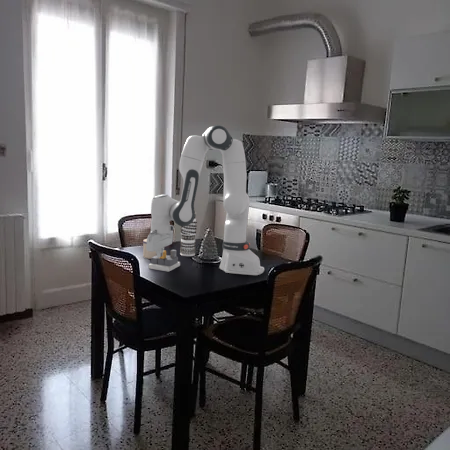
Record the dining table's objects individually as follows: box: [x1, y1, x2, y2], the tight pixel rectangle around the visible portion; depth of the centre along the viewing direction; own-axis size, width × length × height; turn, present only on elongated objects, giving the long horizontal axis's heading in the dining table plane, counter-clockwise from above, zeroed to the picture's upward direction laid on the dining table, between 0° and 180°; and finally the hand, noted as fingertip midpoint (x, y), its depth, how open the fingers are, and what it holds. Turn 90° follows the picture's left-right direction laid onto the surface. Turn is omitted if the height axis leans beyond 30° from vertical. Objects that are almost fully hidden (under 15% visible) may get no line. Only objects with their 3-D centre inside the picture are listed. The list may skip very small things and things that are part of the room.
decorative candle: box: [179, 212, 198, 257], centre depth 243 cm, size 9×9×25 cm
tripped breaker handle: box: [160, 249, 167, 259], centre depth 215 cm, size 2×2×4 cm
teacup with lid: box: [142, 238, 157, 260], centre depth 236 cm, size 12×9×12 cm
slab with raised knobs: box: [148, 249, 181, 272], centre depth 217 cm, size 11×12×8 cm
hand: (159, 256), depth 212 cm, fingers closed
